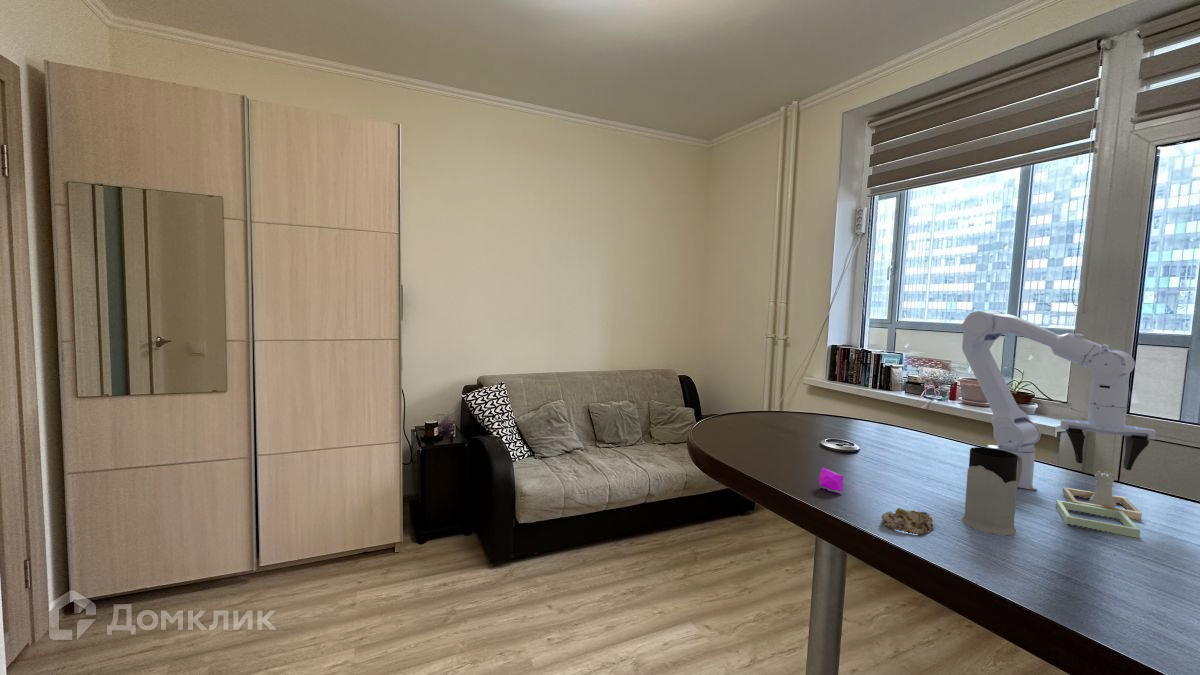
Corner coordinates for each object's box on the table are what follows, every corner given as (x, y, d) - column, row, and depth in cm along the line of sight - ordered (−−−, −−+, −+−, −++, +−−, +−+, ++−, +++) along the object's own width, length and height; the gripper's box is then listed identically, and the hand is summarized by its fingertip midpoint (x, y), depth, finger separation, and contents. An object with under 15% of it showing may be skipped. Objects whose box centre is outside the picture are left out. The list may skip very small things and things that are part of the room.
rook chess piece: (1122, 513, 106) (1125, 477, 106) (1096, 511, 107) (1099, 475, 107) (1107, 505, 110) (1110, 470, 110) (1082, 503, 112) (1085, 468, 111)
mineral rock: (905, 528, 93) (875, 501, 100) (898, 547, 95) (869, 518, 102) (951, 525, 96) (919, 499, 103) (944, 543, 97) (912, 516, 104)
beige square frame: (1072, 508, 108) (1073, 501, 108) (1062, 493, 117) (1063, 487, 117) (1141, 520, 103) (1141, 513, 102) (1124, 504, 111) (1125, 497, 111)
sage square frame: (1066, 524, 101) (1066, 516, 100) (1055, 506, 109) (1056, 499, 109) (1139, 538, 95) (1140, 530, 95) (1122, 518, 103) (1122, 511, 103)
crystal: (817, 491, 117) (818, 472, 116) (821, 484, 121) (822, 466, 121) (841, 496, 114) (842, 476, 114) (844, 489, 118) (845, 470, 118)
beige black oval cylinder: (951, 520, 102) (956, 448, 101) (993, 509, 107) (998, 441, 106) (1000, 538, 94) (1005, 461, 93) (1042, 526, 99) (1047, 453, 98)
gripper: (1067, 403, 109) (1062, 463, 110) (1163, 412, 101) (1157, 477, 102) (1060, 398, 115) (1055, 456, 116) (1150, 406, 107) (1145, 468, 108)
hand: (1102, 465), depth 109 cm, fingers open, 7 cm apart
